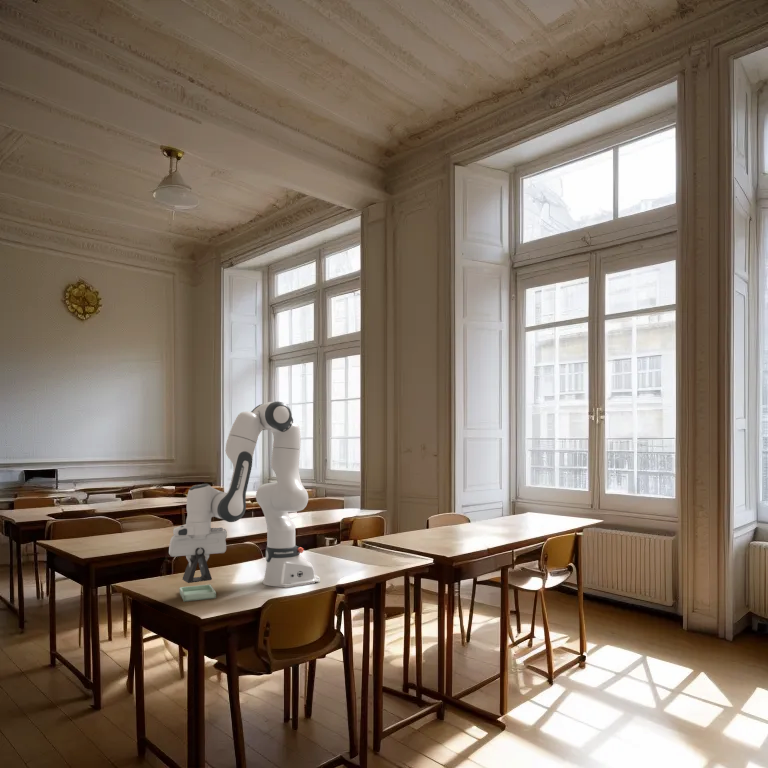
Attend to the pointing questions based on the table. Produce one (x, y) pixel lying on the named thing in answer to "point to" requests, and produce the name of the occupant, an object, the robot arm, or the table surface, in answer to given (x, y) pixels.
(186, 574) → the dark grey a-shaped stand
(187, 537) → the robot arm
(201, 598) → the tray
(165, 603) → the table surface
